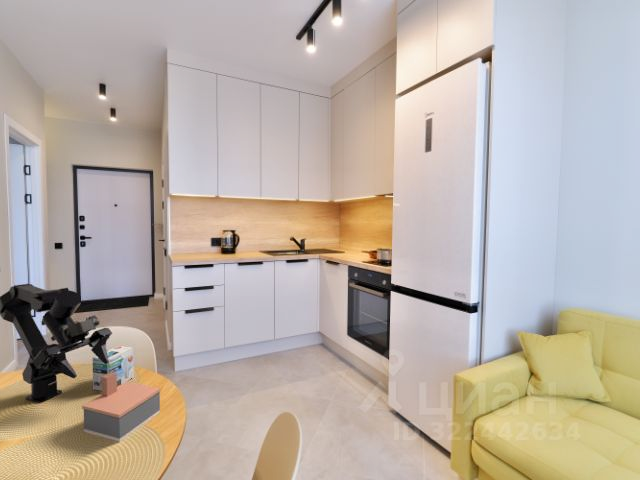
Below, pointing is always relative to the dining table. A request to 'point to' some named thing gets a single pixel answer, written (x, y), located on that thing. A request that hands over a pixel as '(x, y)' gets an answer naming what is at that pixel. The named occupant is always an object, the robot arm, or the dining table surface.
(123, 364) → the light bulb box
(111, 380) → the lid
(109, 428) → the carton
